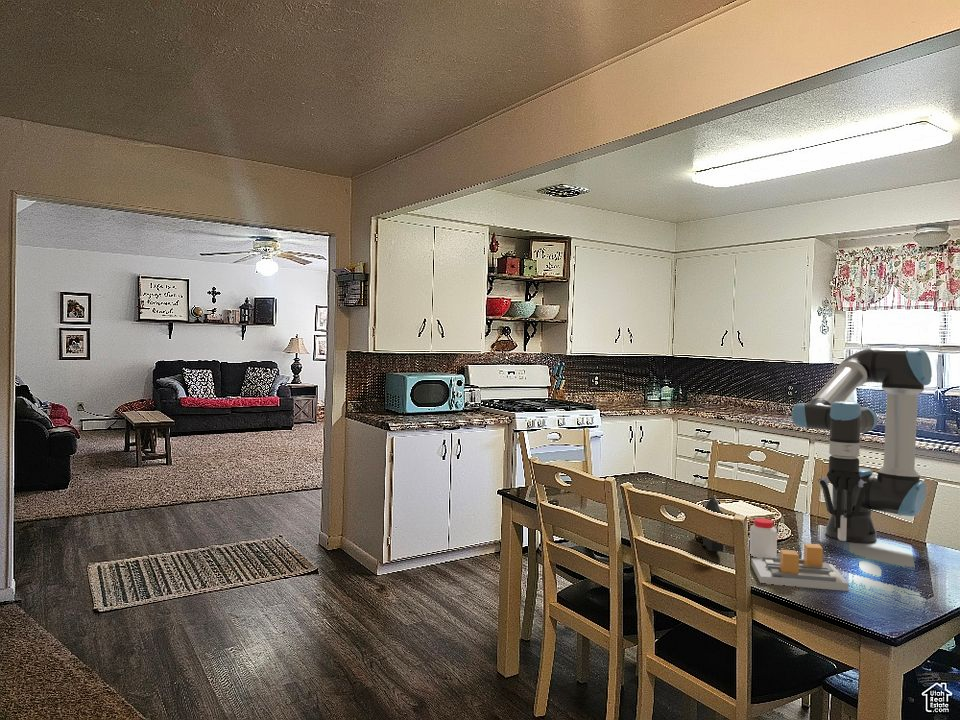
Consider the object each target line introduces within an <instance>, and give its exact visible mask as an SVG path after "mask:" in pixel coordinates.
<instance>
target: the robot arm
mask: <svg viewBox="0 0 960 720" xmlns="http://www.w3.org/2000/svg"><path fill="white" fill-rule="evenodd" d="M835 371H836V372H835V374H834V375H833V376H832V377H831V378H830V379H829V380H828V381H827V382H826V383H825V384H824V385H823V387H822V388H821V389H820V390H819V391H818V392H817V393H816V394H815V395H814V396H813V398H812V399H811V400H810V401H808V403H805V402H798V403H795V405H794V406H793V407H792V411H791V420H792V423H793V424H794V426H795V427H798V428H799V427H800V428H803V429H811V430H812V429H813V430H821V431H823V430H825V431H829V447H828V448H829V450H828V451H829V455H830V456H829V457H828V471H827V474H826V476H825V477H823V478H819V479H818V480H817V482H818V484H819V485H820V487H821V489H822V495H823V498H824V502H825V506H826V510H827V513H829V514H830V515H829V519H828V522H827V524H826V526H825V534H826V535H827V536H828V537H830V538H832V537H833V538H832V539H836V540H839V541H843V542H848V543H849V542H850V543H851V542H852V543H859V544H868V543H873V542H876V541H877V536H878V535H877V534H878V533H877V530H876V527H875V524H874V520H873V518H872V511H876V512H877V511H878V512H881V513H888V514H894V515H898V516H899V517H900V516H906V517H915V516H917V515H918V514H920V512H921V510H922V509H923V507H924V504H925V500H926V498H927V497H926V495H927V484H926V482H924V481H923V480H920V478H921V475H920V473H918V472H917V470H916V469H915V463H916V445H917V444H916V441H917V423H918V420H917V419H918V403H919V402H918V400H919V395H920V394H921V393H923V392H924V390H925V386H928V385H930V383H931V382H932V376H933V375H932V364H931V360H930V358H929V356H928V354H927V352H926V351H925V350H924V349H921V348H913V347H912V348H910V347H871V348H866V349H861V350H859V351H857V352H855V353H854V354H852V355H850V356H847V357H846V358H845V359H844V360H843V361H841V362H840V364H839V365H838V366H837V368H836V370H835ZM866 383H878V384H879V383H880V384H881V390H883V391H884V392H885V393H886V406H885V407H886V408H885V426H884V427H885V428H884V429H885V431H884V445H883V446H884V450H883V451H884V452H883V466H882V467H881V468H879V469H878V470H877V475H876V474H873V470H872V469H869V468H860V458H858V457H860V449H861V448H860V446H861V445H860V443H861V442H860V441H861V440H860V439H861V434H866V433H867V434H868V432H871V431H872V430H874V429H875V428H876V427H877V425H878V421H879V420H878V416H877V413H876V412H875V411H874V410H873V409H871V408H869V407H867V406H861V404H860V403H858V402H855V401H854V402H853V401H846V400H847V399H848V398H849V396H851V394H852V393H853V392H854V391H855V390H856V388H858V387H862V386H863V385H865V384H866ZM829 482H830V483H829ZM830 484H831V486H832V492H831V493H832V497H831V493H830V488H829V485H830Z"/></svg>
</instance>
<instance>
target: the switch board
mask: <svg viewBox="0 0 960 720" xmlns="http://www.w3.org/2000/svg"><path fill="white" fill-rule="evenodd" d="M750 565H751V567H752V569H753V571H754V573H755V575H756V577H757V579H758V581H759V583H760V584H761V583H766V584H765V585H771V584H774V586H783V585H785V586H784V587H795V586H796V587H797V588H798V587H799V588H808V589H822V590H830V591H831V590H832V591H833V590H834V591H842V592H843V591H846V592H849V590H850V587H849V586H850V583H849V582H848V581H847V580H846V579H845V578H844V577H845V576H843V575H842V574H841V573H840V572H839V571H838V569H837V568H836V567H835V566H834V564H832V563H828V562H824V561H823V567H819V566H806V565H804V558H799V574H792V573H781V572H780V556H779V557H767V556H762V559H759V558H755V557H751V559H750ZM796 587H795V588H796Z"/></svg>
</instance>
